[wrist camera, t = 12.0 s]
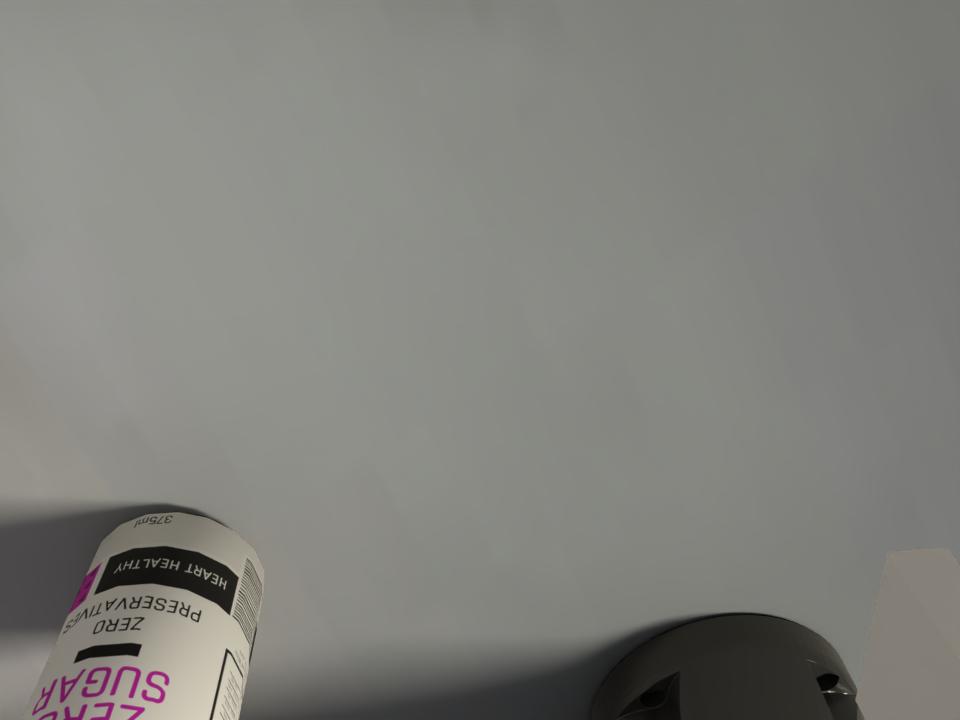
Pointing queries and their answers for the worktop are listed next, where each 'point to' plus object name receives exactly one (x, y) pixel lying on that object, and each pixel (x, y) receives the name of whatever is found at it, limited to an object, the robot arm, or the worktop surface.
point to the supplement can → (157, 627)
